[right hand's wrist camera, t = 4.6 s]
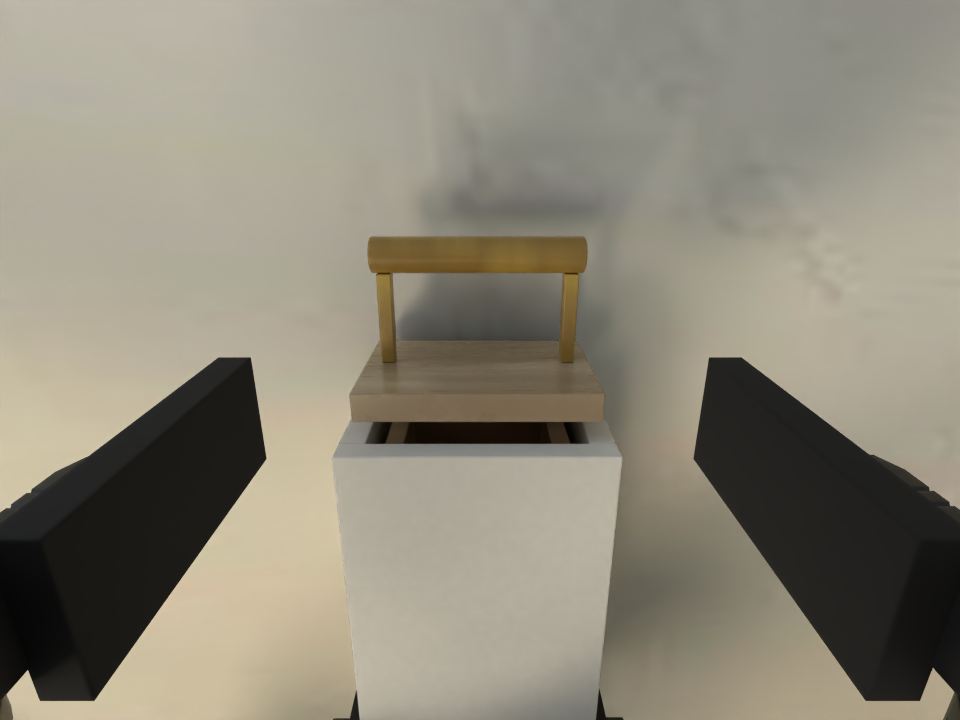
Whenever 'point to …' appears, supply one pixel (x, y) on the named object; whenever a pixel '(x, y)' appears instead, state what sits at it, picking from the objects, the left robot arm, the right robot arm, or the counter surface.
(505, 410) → the drawer
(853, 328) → the counter surface
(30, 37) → the counter surface
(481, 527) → the cabinet
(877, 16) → the counter surface
